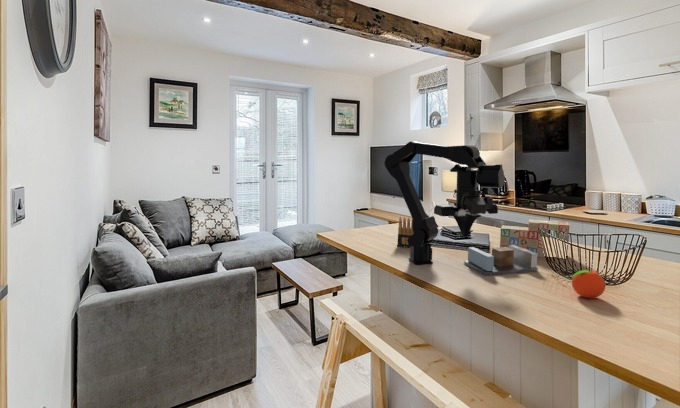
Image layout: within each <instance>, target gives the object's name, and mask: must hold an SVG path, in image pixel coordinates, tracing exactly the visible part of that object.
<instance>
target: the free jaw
mask: <svg viewBox="0 0 680 408" xmlns="http://www.w3.org/2000/svg"><path fill="white" fill-rule="evenodd" d="M467 261H469V262H471V263H473V264H475V265H477V266H479V267H481V268H482V269H484V270H486V271H493V265H494V256H492V254H489V253H487V252H485V251H483V250H481V249H479V248H476V247H473V246H469V247H467Z"/></svg>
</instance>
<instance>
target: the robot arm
mask: <svg viewBox="0 0 680 408" xmlns="http://www.w3.org/2000/svg"><path fill="white" fill-rule="evenodd" d="M480 154H481V153H480V150H479V148H478V147H477V146H475V145H466V144H465V145H464V144H463V145H449V146H448V145H441V144H433V143H425V142H419V141H416V140H415V141H413V140H412V141H408V142H407V143H406V144H404V145H403V146H402V147H401V148H399V149H397V150H396V151H394V152H393V153H392V154H388V156H387V155H386V157H385V160H384V162H383V164H384V168H385V169H386V170H387V172H388V174H389V175H390V176H391V177H392V178H393V180H395V181H396V183H397V185H398V188H399V190H400V192H401V195H402V197H403V199H404V202H405V204H406V207H407V209H408V212H409V213H410V216H411V222H412V229H413V233H414V234H413V235H412V236H410V237H409V238H408V239H407V242H408V245H409V246H410V248H409V249H410V256H409V257H408V260H409V261H410V262H411V263H412V264H413V265H426V264H433V263H434V261H433V248H432V244H431V243H433V241H434V240H435V238H436V237H438V235H439V229H438V228H439V227H440V226H439V224H437V222H436V221H437V220H436V218H435V216H434V215H437V216H440V217H453V218H454V220H455V222H456V224H457V226H458V228H459V231H460V232H461V233H460V234H461V236H462V237H463V238H465V237H468V236H469V234H470V231H471V229H472V227H473V224H474V223H475V221H476V220H477V219H478V218H482V215H484V214H486V213H488V214H489V215H492V214H498V213H499V207H498V205H497V203H494V198H493V197H492V196H491V195H490V196H484V197H481V196H480V192H479V190H477V185H479V187H480V188H485V189H487V188H489V189H491V188H492V189H502V188H503V187H504V184H505V178H506V176H505V173H504V169H503V164H492V165H491V164H486V162H485V161H484V159H483V158H482V156H481V155H480ZM417 155H421V156H422V155H423V156H429V157H435V158H443V159H446V160H449V161H451V163H452V162H453V163H455V164H454V166H453V167H452V168H450V170H449V171H450V172H451V173H456V189H454V190H453V191H454V193H455V195H456V197H455V198H456V199H455V202H454V203H453V205H449V204H435V206H434V208H433V214H434V215H431V216H430V215H428V214H427V213H426V210H425V209H424V206H423V204H422V202H421V199H420V197H419V194H418V192H417V191H416V187H415V185H414V183H413V180H412V179H411V176H410V171H411V167H410V162H411V161H413V160H414V158H415V157H416V156H417ZM461 165H462V166H461ZM481 214H482V215H481Z"/></svg>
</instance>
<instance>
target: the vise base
mask: <svg viewBox="0 0 680 408" xmlns="http://www.w3.org/2000/svg"><path fill="white" fill-rule="evenodd" d="M509 248H510V249H512V250H514V261H513V265H511V266H497V265H495V264H494V265H493V271H486V270H484V269H482V268H481V267H479V266H477V265H475V264H473V263H471V262H469V261H468V260H463V261H464V262H463V264H464V265H465V266H467V267H469V268H470V269H472V270H474V271H476V272H477V273H480V274H481V275H483V276H486V277H487V276H497V275H507V274H519V273H520V274H521V273H531V272H538V271H539V268H538V256H537V254H538V253H535V252H532V251H529V250H527V249H524V248H521V247H518V246H516V245H509Z"/></svg>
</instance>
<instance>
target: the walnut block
mask: <svg viewBox="0 0 680 408" xmlns="http://www.w3.org/2000/svg"><path fill="white" fill-rule="evenodd" d="M491 255H492V256H494V264H495V265H497V266H511V265H513V261H514V250H512V249H510V248H507V247H500V246H499V247H492V249H491Z"/></svg>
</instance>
